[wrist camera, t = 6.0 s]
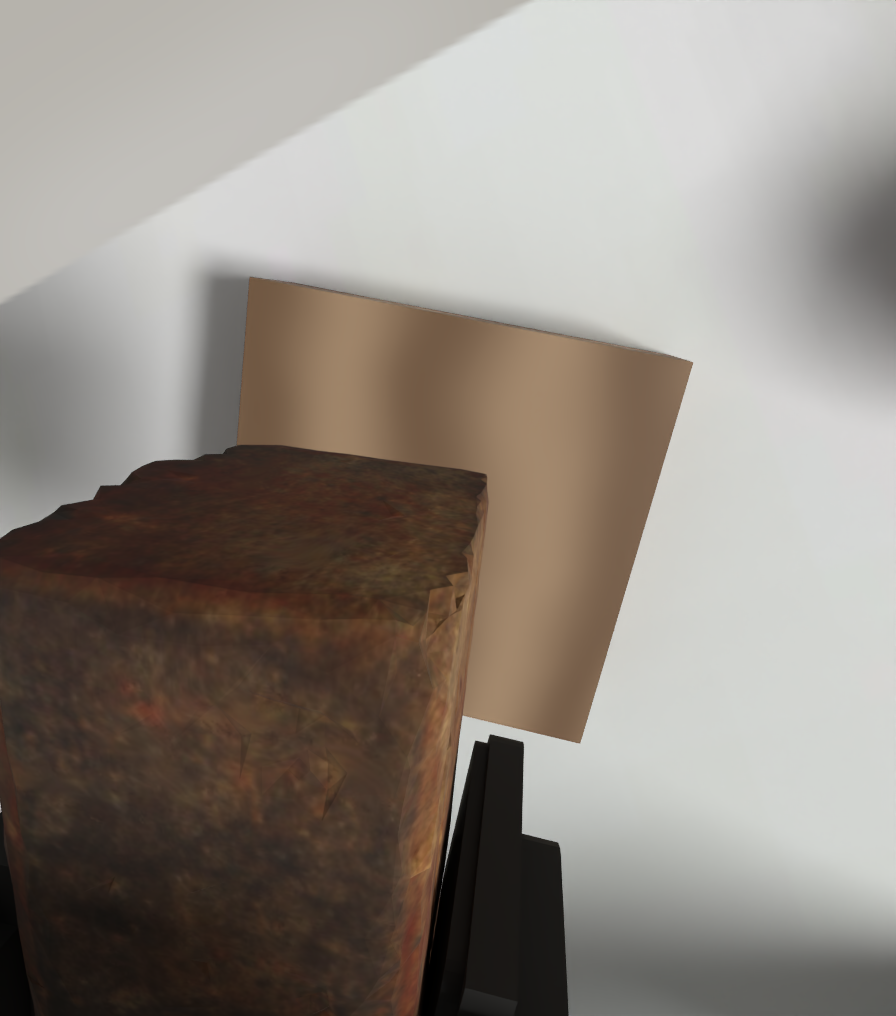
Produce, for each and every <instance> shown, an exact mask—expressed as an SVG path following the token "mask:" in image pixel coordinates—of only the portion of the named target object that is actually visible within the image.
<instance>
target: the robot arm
mask: <svg viewBox="0 0 896 1016" xmlns="http://www.w3.org/2000/svg"><path fill="white" fill-rule="evenodd" d="M523 759H524V744H523V742H520V741H516V740H512V739H508V738H504V737H499V736H495V735H491V734H490V736H489V739H488V743H484V742H480V741H475V744H474V748H473V752H472V756H471V760H470V765H469V769H468V773H467V777H466V782H465V786H464V790H463V795H462V799H461V803H460V807H459V812H458V816H457V820H456V824H455V829H454V833H453V837H452V842H451V846H450V850H449V854H448V859H447V863H446V867H445V872H444V877H443V882H442V888H441V894H440V900H439V906H438V912H437V919H436V925H435V931H434V937H433V944H432V950H431V956H430V962H429V969H428V976H427V985H426V993H425V998H424V1004H423V1011H422V1016H569V1015H568V995H567V974H566V953H565V933H564V912H563V892H562V871H561V854H560V847H559V844H558V843H557V842H553V841H549V840H545V839H541V838H537V837H533V836H529V835H525V834H522V801H523ZM0 1016H35V1010H34V1003H33V999H32V995H31V990H30V986H29V982H28V978H27V974H26V968H25V963H24V957H23V952H22V946H21V940H20V935H19V929H18V921H17V914H16V906H15V899H14V891H13V884H12V880H11V875H10V870H9V866H8V861H7V856H6V851H5V847H4V823H3V816H2V812H1V813H0Z"/></svg>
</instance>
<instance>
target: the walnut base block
mask: <svg viewBox="0 0 896 1016" xmlns="http://www.w3.org/2000/svg"><path fill="white" fill-rule="evenodd" d="M692 365H693V362H690V361H687V360H684V359H681V358H677V357H674V356H671V355H666V354H661V353H656V352H651V351H645V350H640V349H635V348H630V347H625V346H619V345H614V344H609V343H604V342H599V341H593V340H588V339H583V338H578V337H573V336H567V335H562V334H557V333H552V332H547V331H541V330H536V329H531V328H526V327H521V326H515V325H510V324H505V323H500V322H495V321H489V320H484V319H479V318H474V317H469V316H463V315H458V314H453V313H448V312H442V311H437V310H432V309H427V308H422V307H416V306H411V305H406V304H401V303H396V302H390V301H385V300H380V299H375V298H370V297H364V296H359V295H354V294H349V293H344V292H338V291H333V290H328V289H323V288H318V287H312V286H307V285H302V284H297V283H292V282H284V281H276V280H269V279H261V278H254V277H250V279H249V292H248V305H247V318H246V331H245V344H244V357H243V370H242V383H241V396H240V409H239V422H238V436H237V446H238V445H284V446H291V447H298V448H305V449H311V450H318V451H327V452H336V453H344V454H352V455H359V456H365V457H372V458H378V459H386V460H394V461H401V462H409V463H417V464H425V465H433V466H441V467H449V468H456V469H464V470H469V471H474V472H479V473H484V474H487V492H488V500H489V504H488V513H487V522H486V531H485V540H484V548H483V555H482V562H481V569H480V576H479V589H478V596H477V603H476V610H475V616H474V625H473V635H472V643H471V650H470V657H469V663H468V671H467V682H466V692H465V700H464V707H463V716H467V717H472V718H476V719H480V720H484V721H488V722H492V723H497V724H501V725H505V726H509V727H513V728H517V729H522V730H526V731H530V732H534V733H538V734H542V735H547V736H551V737H555V738H559V739H563V740H567V741H572V742H576V743H580V742H581V739H582V735H583V732H584V729H585V725H586V722H587V719H588V715H589V712H590V709H591V705H592V702H593V698H594V695H595V692H596V688H597V685H598V682H599V678H600V675H601V671H602V668H603V665H604V661H605V658H606V655H607V651H608V648H609V645H610V641H611V638H612V634H613V631H614V628H615V624H616V621H617V618H618V614H619V611H620V607H621V604H622V601H623V597H624V594H625V591H626V587H627V584H628V581H629V577H630V574H631V570H632V567H633V564H634V560H635V557H636V554H637V550H638V547H639V543H640V540H641V537H642V533H643V530H644V527H645V523H646V520H647V517H648V513H649V510H650V506H651V503H652V500H653V496H654V493H655V490H656V486H657V483H658V479H659V476H660V473H661V469H662V466H663V463H664V459H665V456H666V453H667V449H668V446H669V442H670V439H671V436H672V432H673V429H674V426H675V422H676V419H677V415H678V412H679V409H680V405H681V402H682V399H683V395H684V392H685V389H686V385H687V382H688V378H689V375H690V372H691V368H692Z"/></svg>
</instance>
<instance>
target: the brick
mask: <svg viewBox="0 0 896 1016" xmlns="http://www.w3.org/2000/svg"><path fill="white" fill-rule="evenodd" d="M488 504H489V500H488V492H487V474H484V473H479V472H474V471H469V470H464V469H456V468H449V467H441V466H433V465H425V464H417V463H409V462H401V461H394V460H386V459H378V458H372V457H365V456H359V455H352V454H344V453H336V452H327V451H318V450H311V449H305V448H298V447H291V446H284V445H238V446H235V447H231V448H228V449H226V450H225V452H224V453H223V454H205V455H203V456H201V457H199V458H197V459H195V460H164V461H154V462H152V463H149V464H147V465H144V466H142V467H140V468H138V469H137V470H135V471H133V472H132V473H131V474H130V475H129V477H128V478H127V479H126V480H125V481H124V482H123V483H122V484H121V485H113V486H100V488H99V490H98V492H97V494H96V495H95V497H94V499H93V500H89V501H83V502H78V503H72V504H67V505H62V506H60V507H59V508H58V509H57V510H56V511H55V512H54V513H52V514H51V515H49V516H47V517H46V518H44V519H42V520H41V521H39V522H36V523H33V524H30V525H27V526H23V527H20V528H17V529H13V530H12V531H10V532H9V533H7V534H6V535H5V536H3V537H2V538H1V539H0V803H1V810H2V816H3V823H4V847H5V851H6V856H7V861H8V866H9V870H10V875H11V880H12V884H13V891H14V899H15V906H16V914H17V921H18V929H19V935H20V940H21V946H22V952H23V957H24V963H25V968H26V974H27V978H28V982H29V986H30V990H31V995H32V999H33V1003H34V1010H35V1016H422V1011H423V1004H424V998H425V993H426V985H427V976H428V969H429V962H430V956H431V950H432V944H433V937H434V931H435V925H436V919H437V912H438V906H439V900H440V892H441V885H442V879H443V873H444V868H445V860H446V853H447V845H448V837H449V830H450V822H451V811H452V801H453V791H454V782H455V772H456V763H457V754H458V745H459V736H460V729H461V722H462V715H463V707H464V700H465V692H466V682H467V671H468V663H469V657H470V650H471V643H472V635H473V625H474V616H475V610H476V603H477V596H478V589H479V576H480V569H481V562H482V555H483V548H484V540H485V531H486V522H487V513H488Z"/></svg>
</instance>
